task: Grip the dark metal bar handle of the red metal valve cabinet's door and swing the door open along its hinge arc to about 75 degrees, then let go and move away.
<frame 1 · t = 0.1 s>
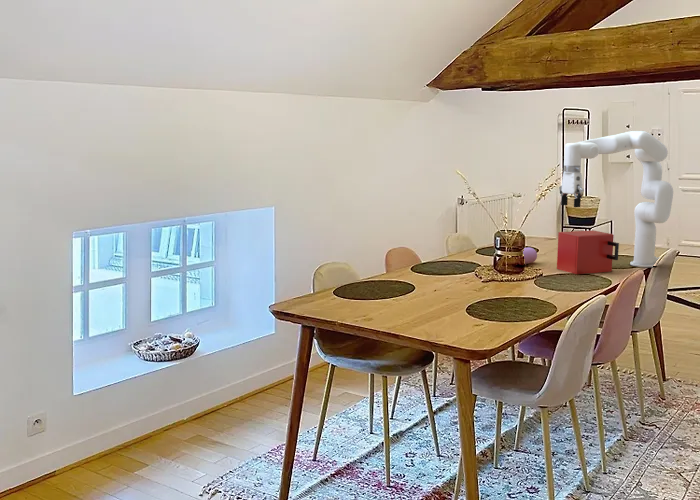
hand: (570, 206, 334), 31 cm above the table, tool pointing down, fingers open, 9 cm apart
door: (598, 255, 331), point 9 cm above the table, hinge at 0.0°
toy: (523, 265, 356), on the table
valve cabinet: (583, 270, 342), on the table
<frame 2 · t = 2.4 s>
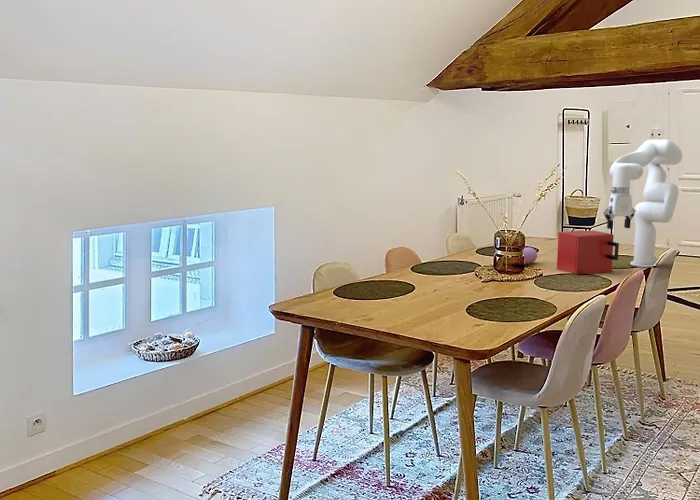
hand: (618, 228, 327), 22 cm above the table, tool pointing down, fingers open, 9 cm apart
nothing on the table moved.
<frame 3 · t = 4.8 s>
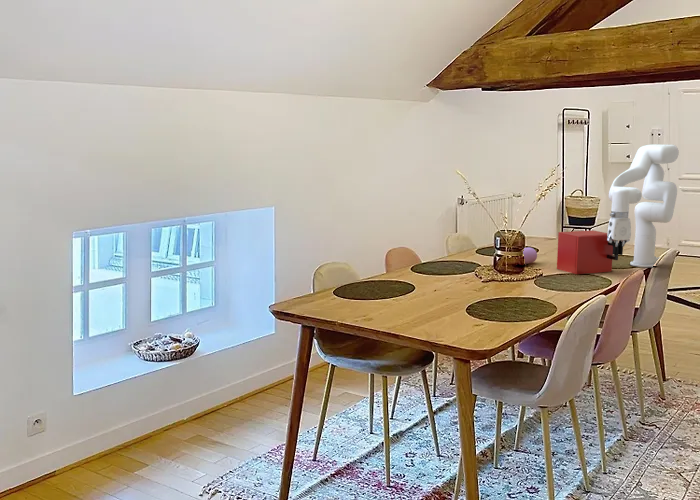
hand: (617, 254, 330), 9 cm above the table, tool pointing down, fingers closed on door
door: (598, 255, 331), point 9 cm above the table, hinge at 0.0°, touching gripper
everything else where it was.
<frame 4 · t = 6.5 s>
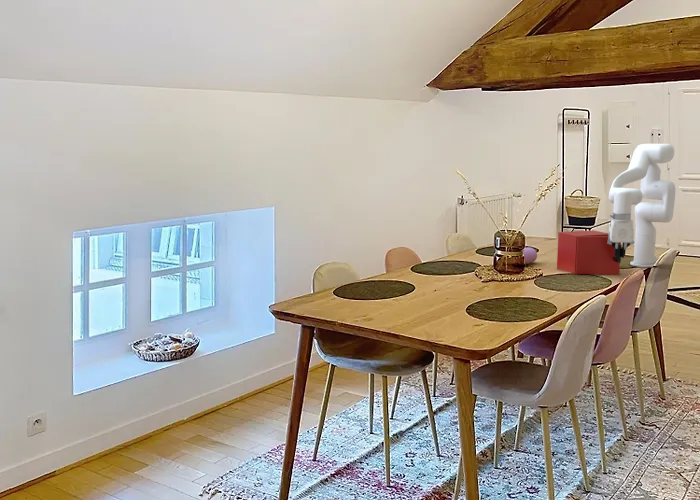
hand: (619, 257, 323), 9 cm above the table, tool pointing down, fingers closed on door
door: (600, 256, 327), point 9 cm above the table, hinge at 20.4°, touching gripper
everything else where it was.
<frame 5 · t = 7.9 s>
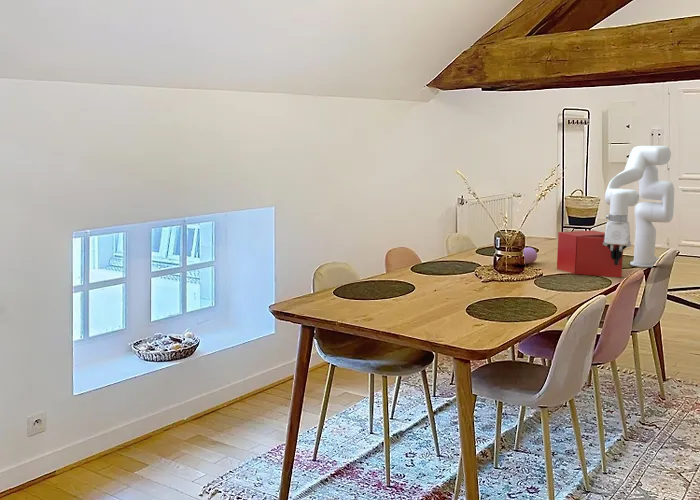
hand: (616, 259, 317), 9 cm above the table, tool pointing down, fingers closed on door
door: (599, 257, 324), point 9 cm above the table, hinge at 41.3°, touching gripper
everything else where it was.
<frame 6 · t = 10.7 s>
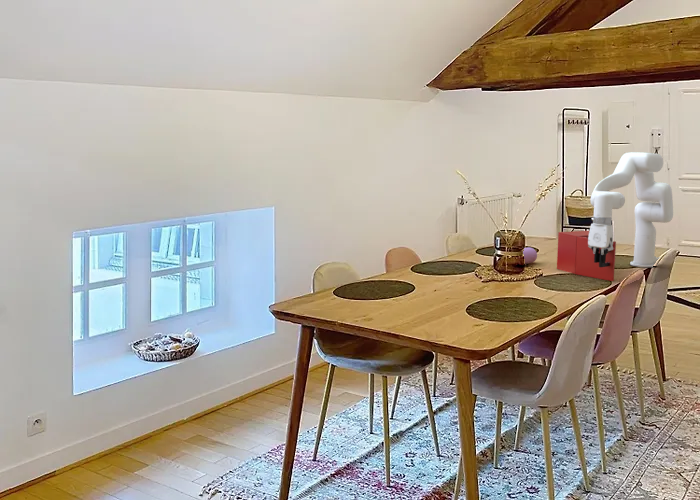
hand: (599, 262, 312), 9 cm above the table, tool pointing down, fingers closed
door: (590, 259, 320), point 9 cm above the table, hinge at 74.3°
everything else where it was.
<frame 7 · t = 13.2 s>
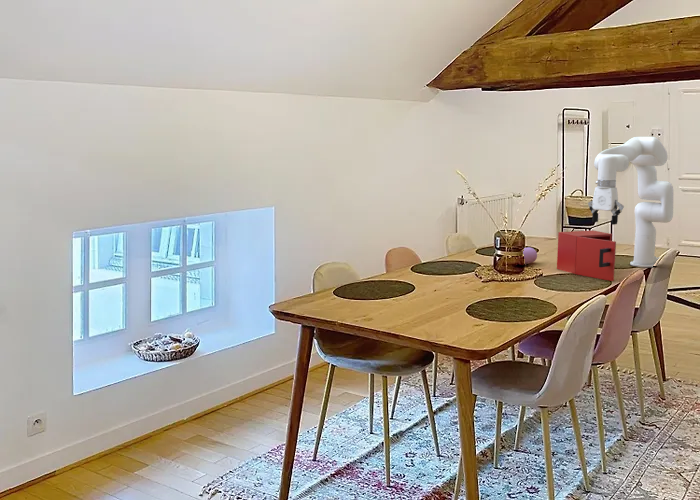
hand: (604, 223, 311), 26 cm above the table, tool pointing down, fingers open, 9 cm apart
nothing on the table moved.
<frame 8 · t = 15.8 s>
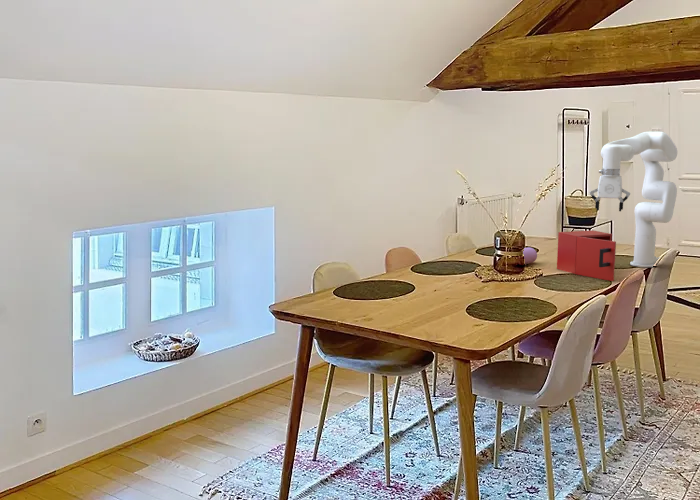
hand: (608, 210, 322), 30 cm above the table, tool pointing down, fingers open, 9 cm apart
nothing on the table moved.
at the end: door at +74° (first picture: +0°); the gripper is holding nothing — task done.
